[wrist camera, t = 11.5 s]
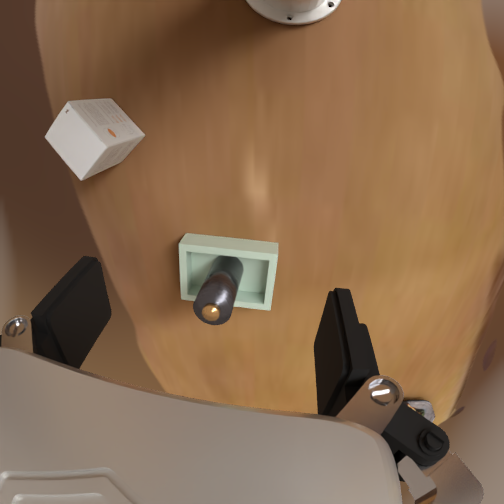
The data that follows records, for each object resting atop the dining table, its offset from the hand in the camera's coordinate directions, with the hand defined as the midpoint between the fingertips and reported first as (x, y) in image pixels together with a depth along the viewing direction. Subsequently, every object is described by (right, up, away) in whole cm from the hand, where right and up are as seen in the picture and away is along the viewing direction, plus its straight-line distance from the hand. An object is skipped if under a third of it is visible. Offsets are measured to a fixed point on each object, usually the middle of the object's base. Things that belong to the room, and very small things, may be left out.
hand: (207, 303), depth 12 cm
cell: (-2, 0, +32) cm, 32 cm away
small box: (-17, +19, +25) cm, 36 cm away
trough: (-1, 0, +33) cm, 33 cm away
